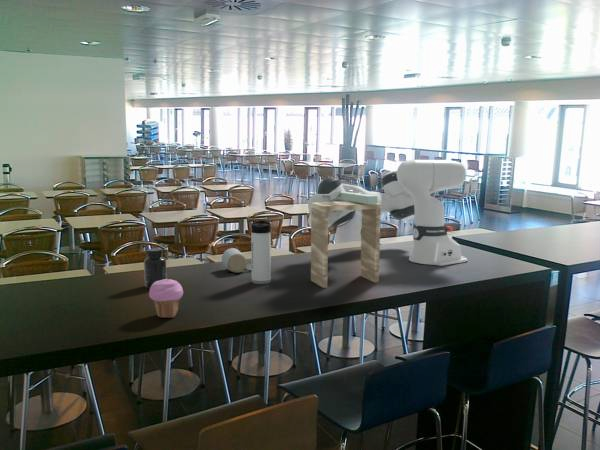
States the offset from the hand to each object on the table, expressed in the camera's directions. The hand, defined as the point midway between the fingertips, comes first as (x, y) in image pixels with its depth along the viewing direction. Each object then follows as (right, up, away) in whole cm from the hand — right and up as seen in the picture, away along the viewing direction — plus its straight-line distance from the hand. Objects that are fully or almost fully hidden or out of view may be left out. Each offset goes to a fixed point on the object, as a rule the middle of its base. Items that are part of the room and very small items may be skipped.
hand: (345, 192), depth 190 cm
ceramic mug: (-38, -28, +7) cm, 47 cm away
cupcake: (-51, -36, -44) cm, 76 cm away
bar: (+3, -3, -7) cm, 8 cm away
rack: (-1, -30, -7) cm, 31 cm away
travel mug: (-28, -30, -8) cm, 42 cm away
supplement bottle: (-61, -31, -15) cm, 70 cm away
